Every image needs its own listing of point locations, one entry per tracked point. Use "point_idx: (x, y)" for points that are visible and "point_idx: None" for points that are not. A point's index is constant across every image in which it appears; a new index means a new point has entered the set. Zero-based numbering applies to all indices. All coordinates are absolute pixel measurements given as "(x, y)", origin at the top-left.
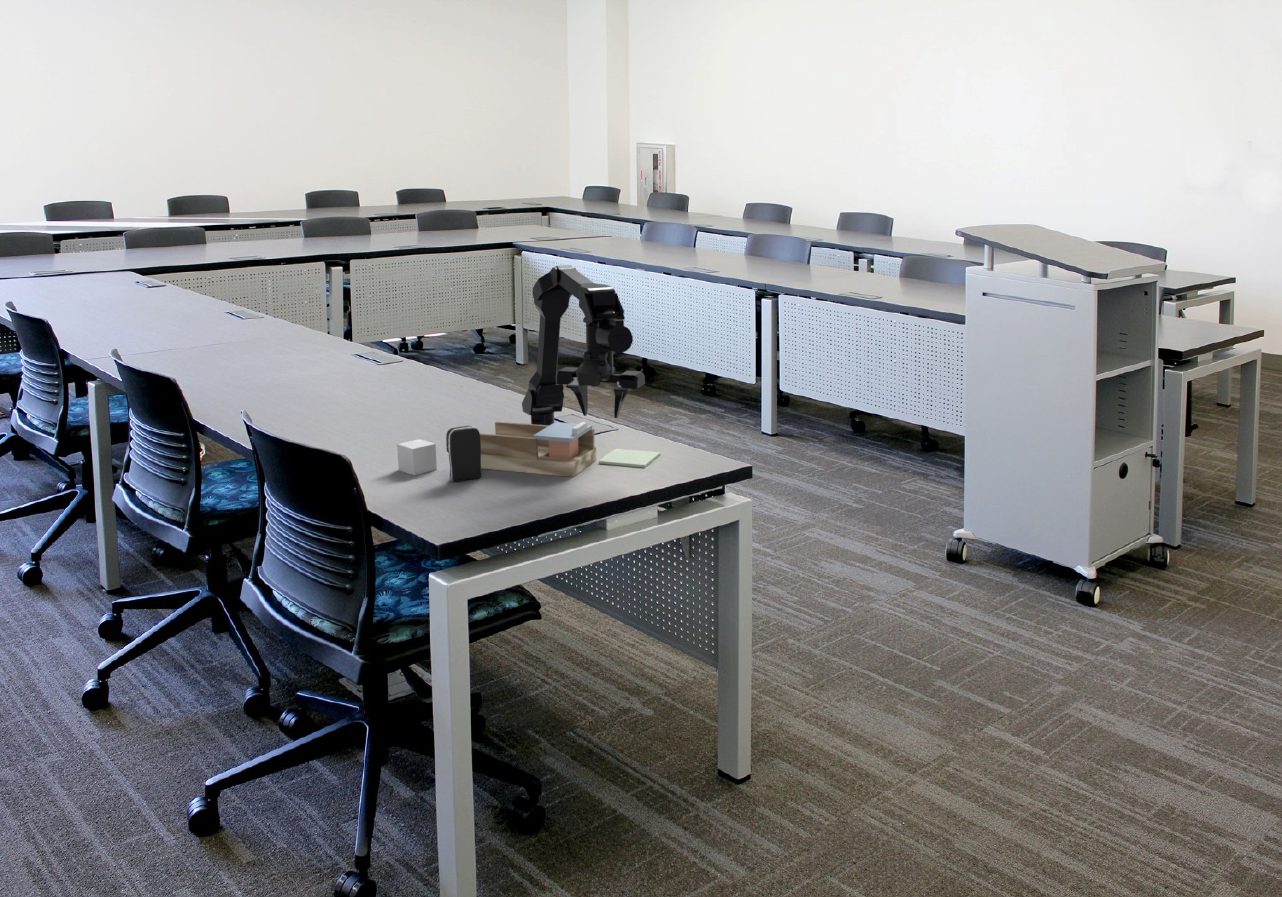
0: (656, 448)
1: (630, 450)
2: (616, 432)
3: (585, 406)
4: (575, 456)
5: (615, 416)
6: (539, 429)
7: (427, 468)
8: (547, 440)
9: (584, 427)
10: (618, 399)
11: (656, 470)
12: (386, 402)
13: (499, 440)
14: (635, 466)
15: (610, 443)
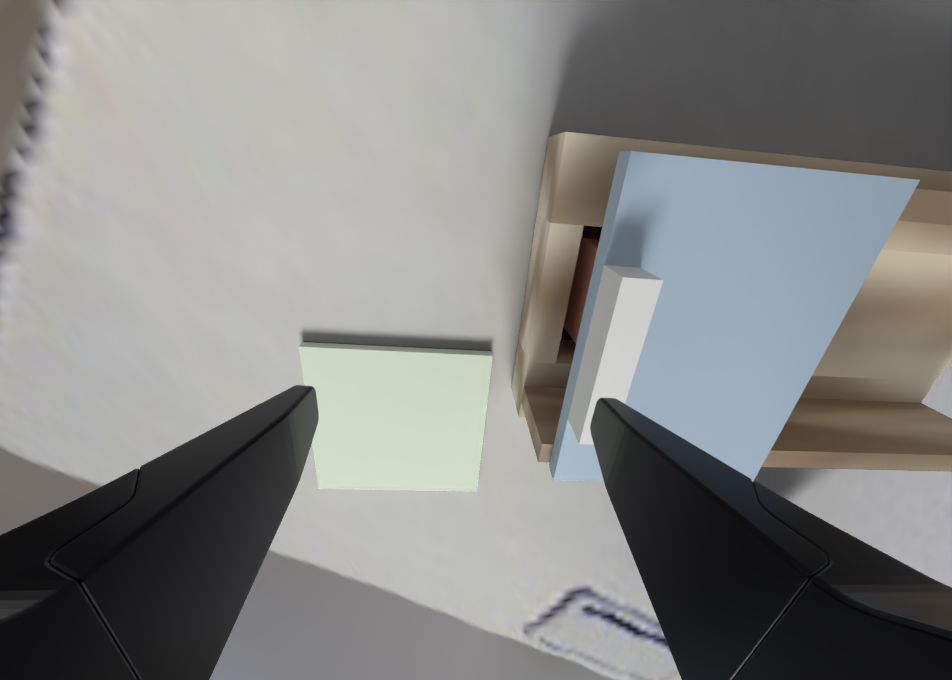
0: (363, 532)
1: (421, 485)
2: (522, 614)
3: (632, 467)
4: (581, 309)
5: (297, 390)
6: (802, 439)
7: None
8: None
9: (581, 392)
10: (61, 530)
11: (244, 319)
12: None
13: None
14: (343, 345)
15: (512, 541)
